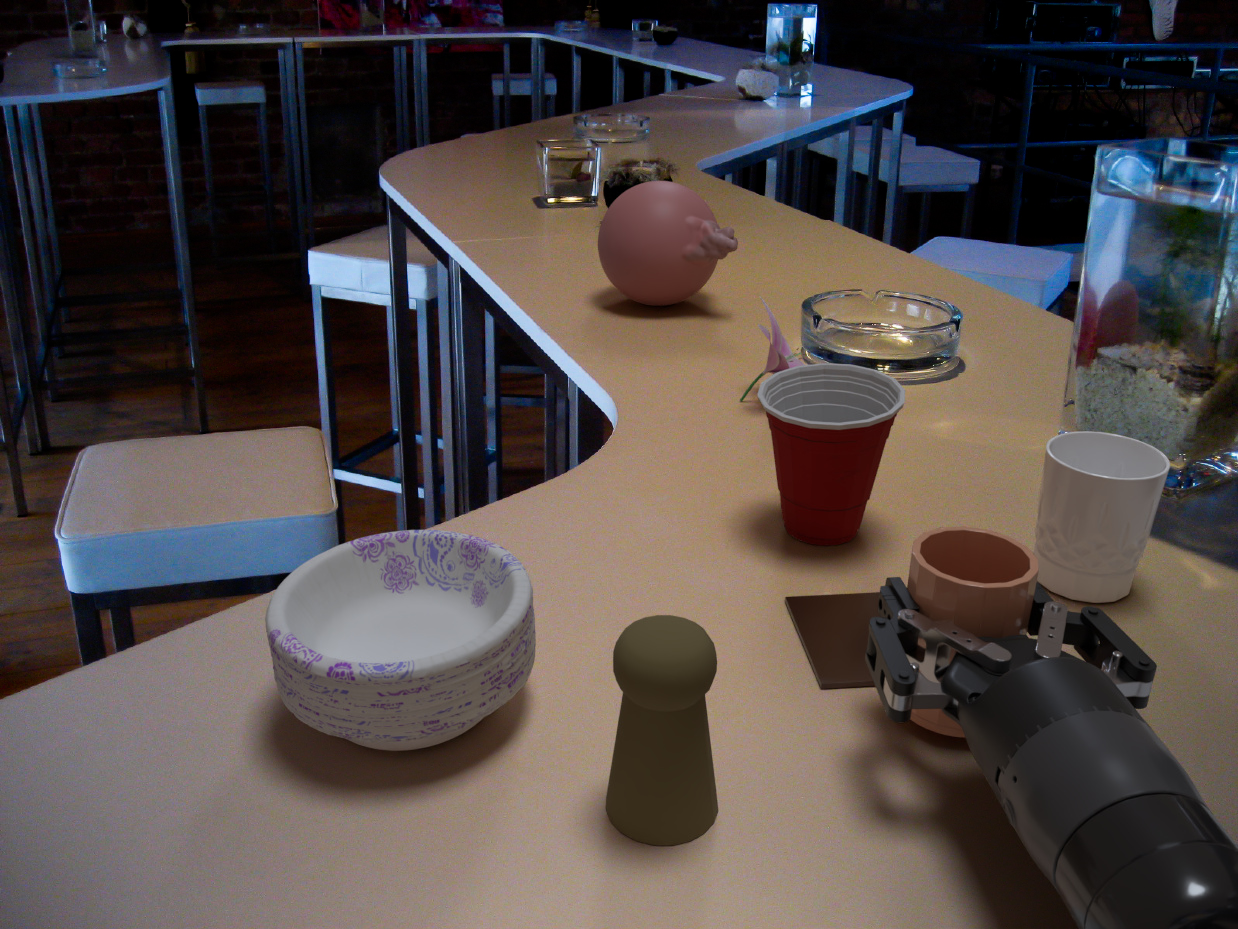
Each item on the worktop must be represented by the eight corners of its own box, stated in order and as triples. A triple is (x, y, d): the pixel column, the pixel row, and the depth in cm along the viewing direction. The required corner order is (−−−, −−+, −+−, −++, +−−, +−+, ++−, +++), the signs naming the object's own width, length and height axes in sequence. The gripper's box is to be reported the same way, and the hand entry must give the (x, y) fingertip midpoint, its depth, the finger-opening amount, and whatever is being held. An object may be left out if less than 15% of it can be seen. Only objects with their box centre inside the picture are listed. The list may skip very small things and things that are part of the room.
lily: (776, 446, 102) (834, 361, 99) (683, 375, 106) (735, 291, 103) (817, 439, 112) (870, 362, 109) (731, 374, 116) (780, 298, 113)
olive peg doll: (581, 803, 58) (578, 631, 53) (659, 750, 62) (663, 585, 57) (664, 864, 54) (668, 685, 49) (741, 804, 58) (752, 632, 53)
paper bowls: (251, 791, 59) (228, 671, 55) (315, 631, 73) (300, 527, 69) (531, 786, 59) (526, 667, 56) (543, 628, 73) (539, 524, 69)
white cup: (1035, 542, 83) (1058, 422, 79) (1147, 569, 80) (1176, 445, 75) (1012, 589, 77) (1035, 462, 73) (1131, 620, 74) (1162, 489, 69)
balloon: (685, 339, 127) (688, 206, 120) (573, 302, 140) (571, 181, 133) (770, 311, 136) (778, 187, 130) (658, 279, 149) (660, 165, 143)
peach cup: (983, 665, 68) (1008, 524, 64) (1029, 734, 62) (1060, 584, 57) (879, 670, 67) (896, 528, 63) (914, 741, 61) (936, 590, 57)
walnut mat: (978, 591, 77) (979, 587, 77) (1040, 677, 68) (1041, 671, 68) (784, 601, 76) (785, 596, 76) (821, 689, 67) (821, 683, 67)
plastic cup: (721, 526, 86) (727, 384, 81) (809, 485, 92) (820, 351, 87) (830, 580, 78) (844, 428, 73) (917, 532, 85) (936, 389, 80)
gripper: (1257, 705, 48) (1080, 525, 63) (939, 724, 47) (836, 536, 62) (1217, 834, 51) (1057, 634, 66) (919, 855, 50) (825, 646, 65)
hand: (951, 587), depth 64 cm, fingers closed on peach cup, 6 cm apart
